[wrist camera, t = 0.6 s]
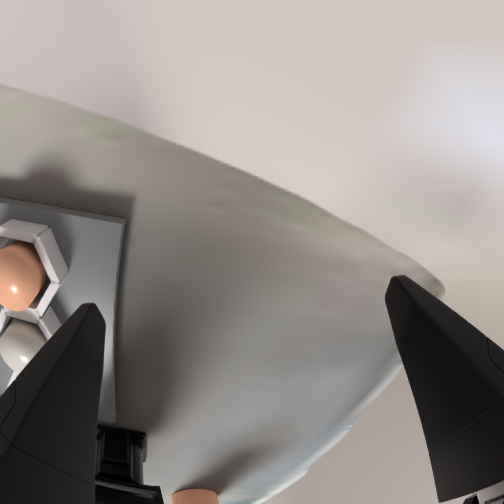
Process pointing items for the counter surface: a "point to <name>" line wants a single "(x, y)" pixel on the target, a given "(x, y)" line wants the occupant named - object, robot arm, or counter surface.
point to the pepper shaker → (195, 497)
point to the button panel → (67, 275)
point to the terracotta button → (20, 275)
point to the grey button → (21, 343)
